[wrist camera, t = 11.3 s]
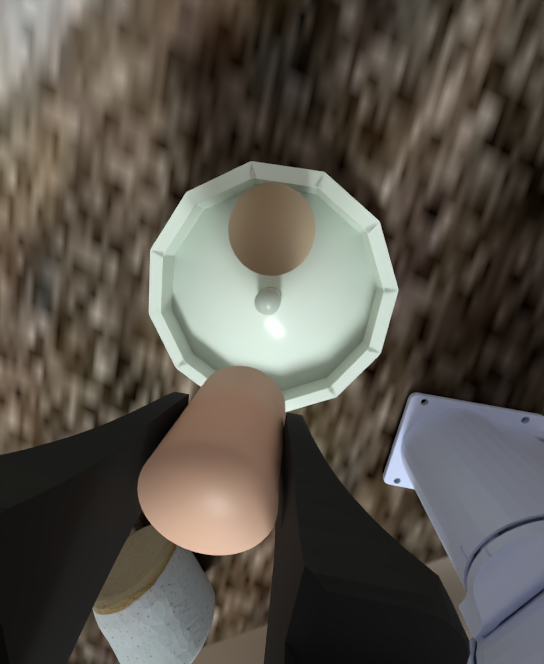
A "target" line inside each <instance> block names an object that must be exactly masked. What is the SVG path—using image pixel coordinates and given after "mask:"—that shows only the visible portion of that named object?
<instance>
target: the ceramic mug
mask: <svg viewBox="0 0 544 664" xmlns="http://www.w3.org/2000/svg"><path fill="white" fill-rule="evenodd" d="M214 609H215V595H214V591H213V588H212V585H211V583H210V581H209V580H208V578H207V576H206V575H205V573H204V571H203V570H202V568H201V566H200V564H199V563H198V561H197V559H196V558H195V556H194V555H193V553H192V551H190V550H188V549H185V548H183V547H180V546H178V545H176V544H175V543H173V542H171V541H170V540H168V539H167V538H165V537H164V536H163V535H162V534H160V533H159V532H158V531H157V530H156V529H155V528H154V527H153V526H152V524H151V525H149V526H146V527H144V528H142V529H140V530H138V531H137V532H135V533H134V534H132V535H131V536H130V537H128V538H127V540H126V542H125V544H124V546H123V548H122V549H121V551H120V553H119V555H118V557H117V559H116V561H115V563H114V565H113V567H112V569H111V571H110V573H109V575H108V577H107V579H106V581H105V583H104V585H103V587H102V589H101V591H100V593H99V596H98V598H97V600H96V602H95V604H94V606H93V611H94V615H95V618H96V621H97V623H98V626H99V628H100V629H101V631H102V633H103V634H104V636H105V637H106V639H107V640H108V641H109V643H110V645H111V647H112V649H113V651H114V652H115V654H116V656H117V658H118V660H119V662H120V663H121V664H191V663H192V662H193V660H194V659H195V658H196V656H197V655H198V653H199V652H200V650H201V648H202V646H203V644H204V642H205V640H206V638H207V635H208V633H209V630H210V627H211V624H212V620H213V616H214Z"/></svg>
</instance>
